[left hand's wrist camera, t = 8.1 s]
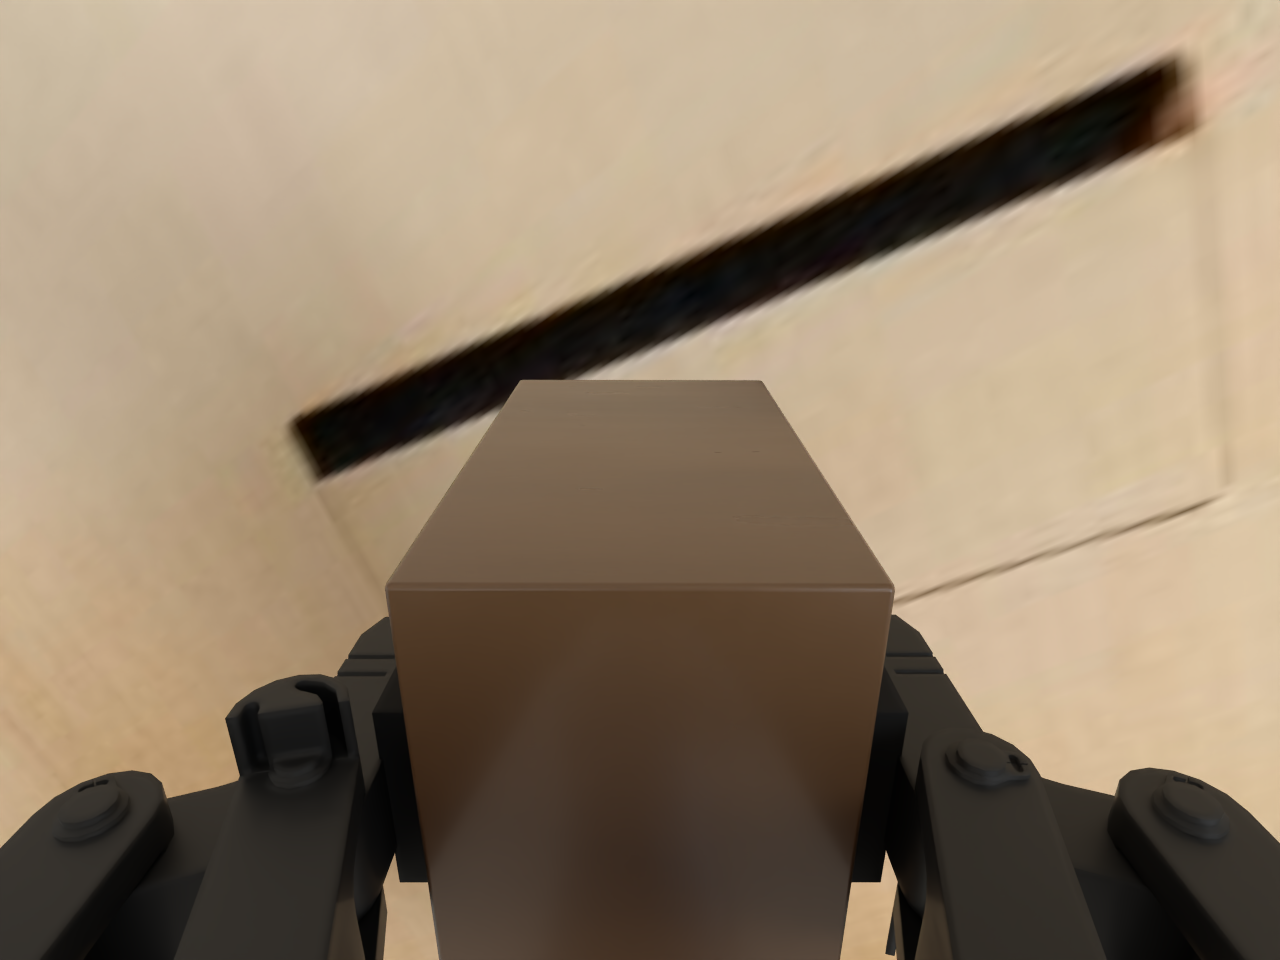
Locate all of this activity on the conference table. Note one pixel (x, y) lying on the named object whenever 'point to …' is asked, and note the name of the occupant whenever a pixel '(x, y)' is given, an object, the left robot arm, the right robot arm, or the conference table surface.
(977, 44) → the conference table surface
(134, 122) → the conference table surface
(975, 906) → the left robot arm
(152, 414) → the conference table surface
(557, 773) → the bar
